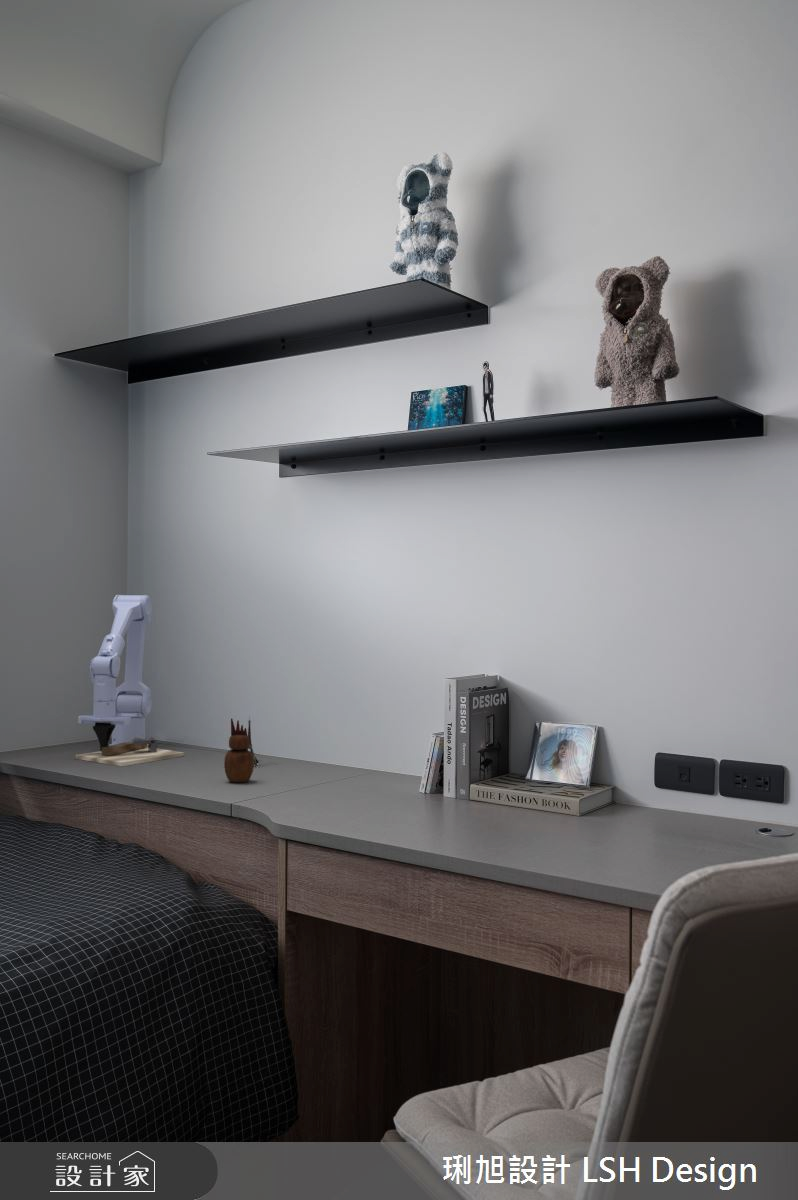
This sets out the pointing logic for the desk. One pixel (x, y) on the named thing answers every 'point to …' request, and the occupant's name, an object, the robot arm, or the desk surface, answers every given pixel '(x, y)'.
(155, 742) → the keeper
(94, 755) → the base plate
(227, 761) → the wooden figurine
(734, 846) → the desk surface
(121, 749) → the wooden stick
